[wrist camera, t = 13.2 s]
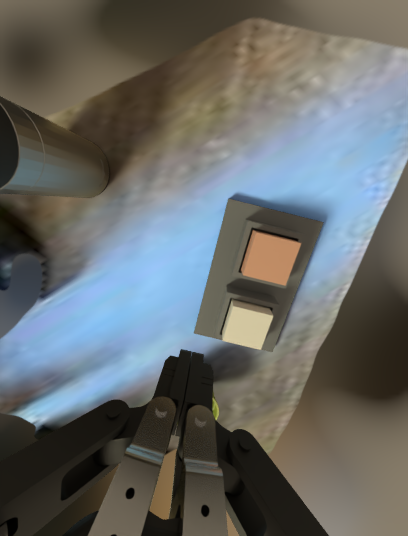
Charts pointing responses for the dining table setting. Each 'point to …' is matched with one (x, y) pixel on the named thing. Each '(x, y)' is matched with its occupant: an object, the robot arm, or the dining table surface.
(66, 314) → the dining table surface
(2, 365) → the dining table surface
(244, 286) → the key panel
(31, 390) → the dining table surface
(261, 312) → the cream key
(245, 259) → the terracotta key
